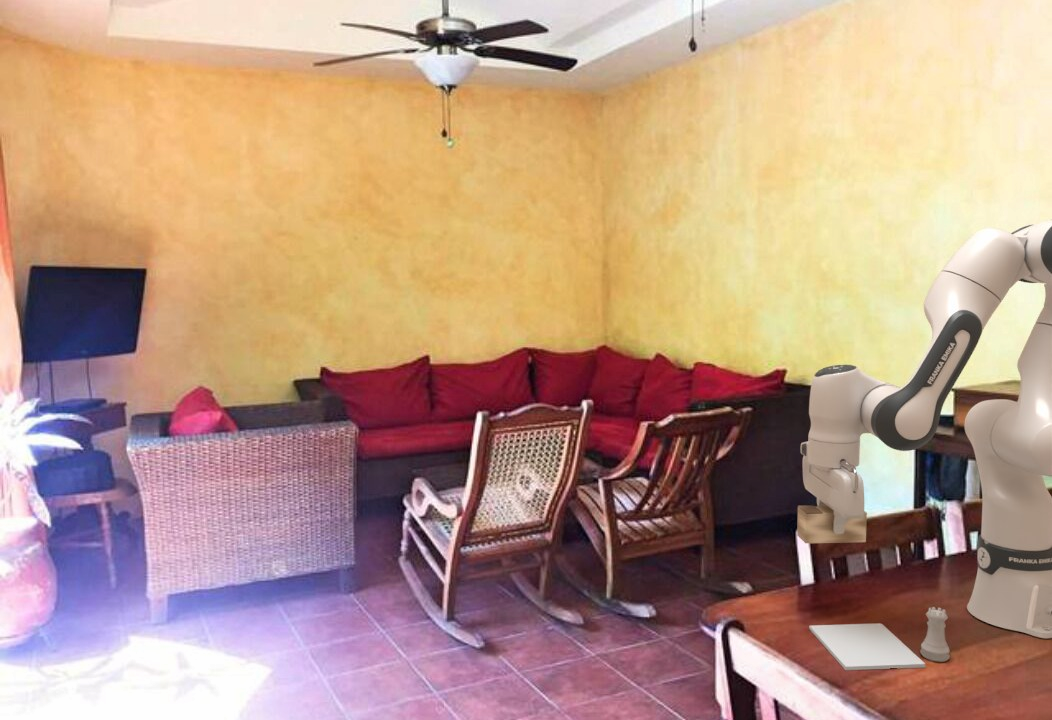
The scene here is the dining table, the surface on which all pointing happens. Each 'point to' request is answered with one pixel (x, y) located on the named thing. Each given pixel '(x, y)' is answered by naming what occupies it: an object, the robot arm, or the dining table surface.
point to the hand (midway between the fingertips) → (831, 527)
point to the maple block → (828, 526)
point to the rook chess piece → (935, 637)
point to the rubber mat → (865, 647)
